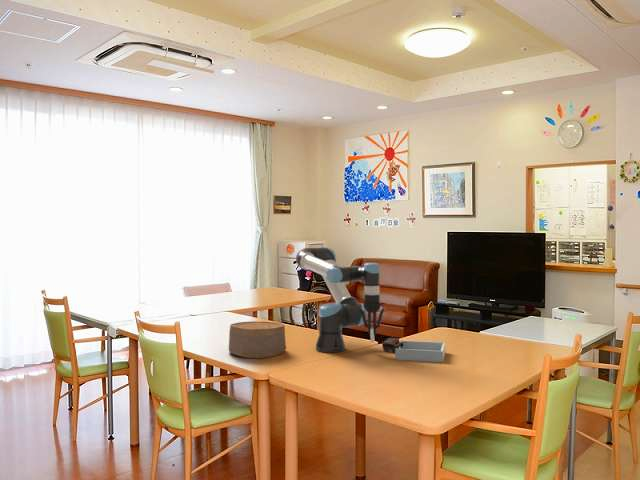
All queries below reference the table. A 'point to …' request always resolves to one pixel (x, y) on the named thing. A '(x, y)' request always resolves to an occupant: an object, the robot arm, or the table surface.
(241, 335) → the container
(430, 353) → the walled box
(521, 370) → the table surface
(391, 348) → the electronic device
